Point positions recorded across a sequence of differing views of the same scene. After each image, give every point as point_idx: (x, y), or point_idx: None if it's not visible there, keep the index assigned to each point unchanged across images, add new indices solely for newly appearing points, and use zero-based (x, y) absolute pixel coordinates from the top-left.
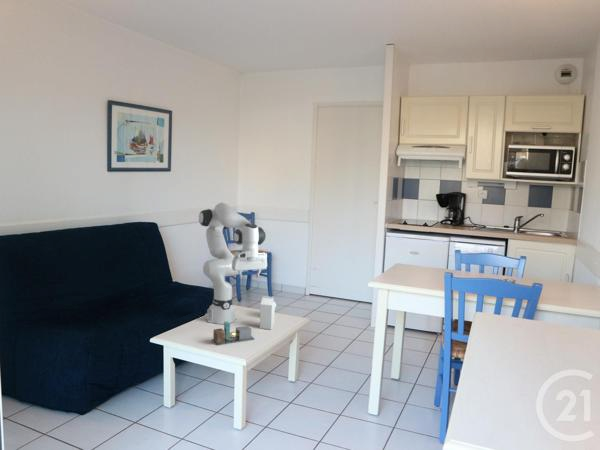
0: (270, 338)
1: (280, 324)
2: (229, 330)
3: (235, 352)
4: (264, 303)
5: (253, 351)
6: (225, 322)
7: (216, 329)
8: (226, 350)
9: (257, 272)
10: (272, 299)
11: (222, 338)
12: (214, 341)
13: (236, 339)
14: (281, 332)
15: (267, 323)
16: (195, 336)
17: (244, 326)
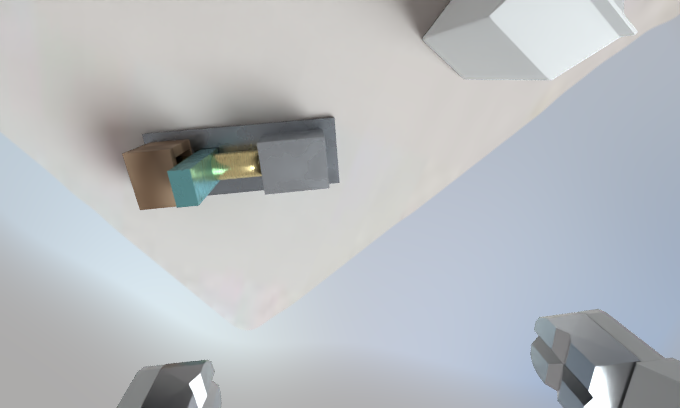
0: (408, 187)
1: None
2: (209, 191)
3: (227, 282)
4: (519, 30)
5: (294, 289)
6: (173, 186)
7: (139, 159)
8: (196, 257)
9: (678, 396)
10: (606, 35)
11: None
12: None
13: None
14: (488, 131)
15: (463, 65)
16: (57, 46)
17: (306, 142)
